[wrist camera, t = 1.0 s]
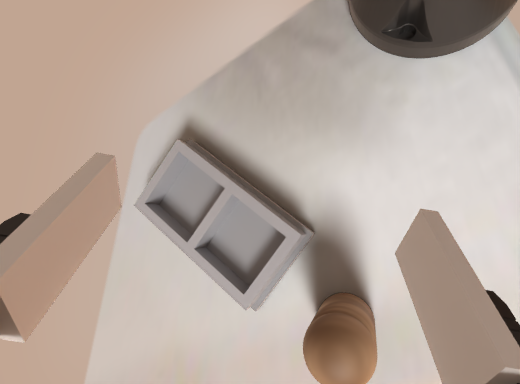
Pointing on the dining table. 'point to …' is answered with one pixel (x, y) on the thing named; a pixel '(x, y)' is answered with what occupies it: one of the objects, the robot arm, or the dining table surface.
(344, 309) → the wooden dome-top peg
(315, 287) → the dining table surface
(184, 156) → the two-compartment grey tray
